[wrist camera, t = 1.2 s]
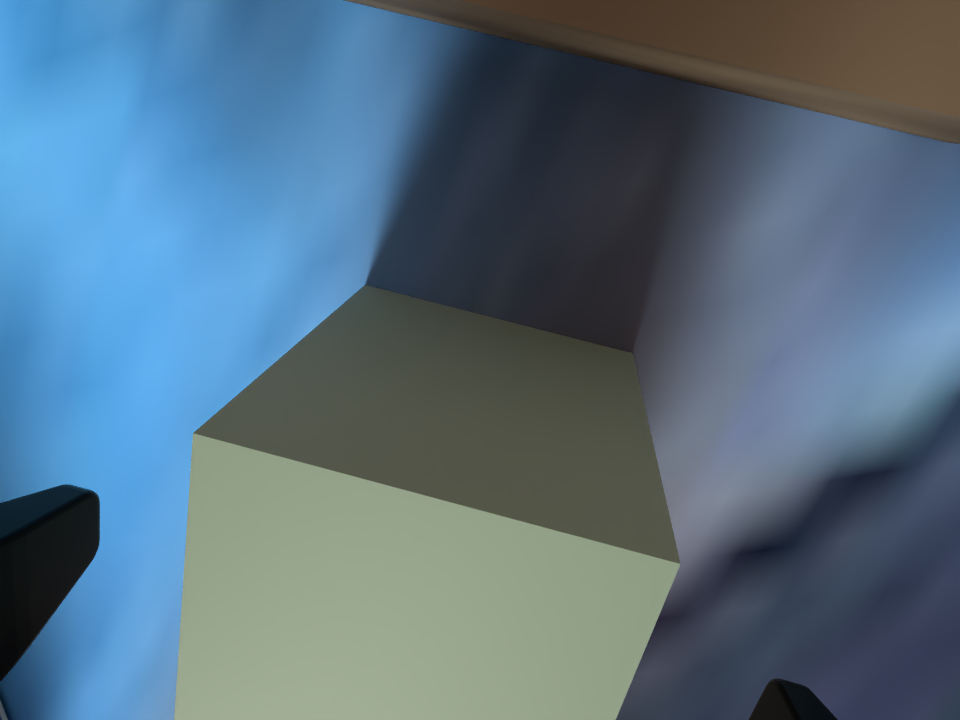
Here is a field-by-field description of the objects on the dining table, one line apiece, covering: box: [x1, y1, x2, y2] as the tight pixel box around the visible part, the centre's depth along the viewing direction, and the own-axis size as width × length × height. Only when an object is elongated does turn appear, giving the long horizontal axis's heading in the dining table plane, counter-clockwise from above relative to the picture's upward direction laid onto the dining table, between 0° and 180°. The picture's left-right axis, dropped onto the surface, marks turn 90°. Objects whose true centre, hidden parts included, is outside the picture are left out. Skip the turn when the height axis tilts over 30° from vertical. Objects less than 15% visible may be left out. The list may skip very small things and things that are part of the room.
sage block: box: [174, 285, 680, 720], centre depth 10 cm, size 5×5×6 cm
